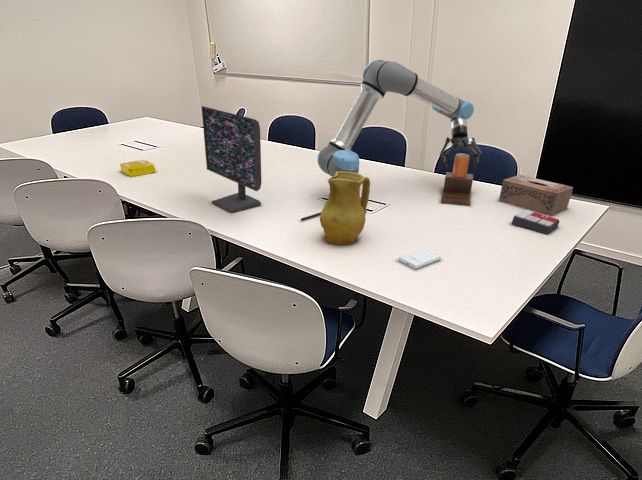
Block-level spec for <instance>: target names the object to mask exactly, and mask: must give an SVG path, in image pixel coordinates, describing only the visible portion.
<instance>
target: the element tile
mask: <svg viewBox="0 0 642 480" xmlns="http://www.w3.org/2000/svg"><path fill="white" fill-rule="evenodd" d="M119 167H120V170H121V173H123V174H125V175H127V176H129V177H137V176H142V175H148V174H153V173H156V167H155V163H152V162H150V161H148V160H146V159H139V160H134V161H129V162H122V163H120V164H119Z"/></svg>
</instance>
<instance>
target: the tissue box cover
mask: <svg viewBox="0 0 642 480" xmlns="http://www.w3.org/2000/svg"><path fill="white" fill-rule="evenodd" d="M573 191H574V187H573V186H570V185H565V184H563V183H558V182H552V181H548V180H545V179H540V178H536V177H533V176H528V175H522V174H517V175H514V176H512V177H508V178H505V179H503V180H502V184H501V189H500V193H499V198H498V202H501V203H506V204H509V205H512V206H516V207H519V208H523V209H525V210H529V211H532V212H537V213H540V214H543V215H546V216H550V217H553V216H554V215H556V214H559V213H561V212H562V211H565V210H567V209H568V207H569V203H570V201H571V197H572V194H573Z"/></svg>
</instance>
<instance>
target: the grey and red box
mask: <svg viewBox="0 0 642 480" xmlns="http://www.w3.org/2000/svg"><path fill="white" fill-rule="evenodd" d="M560 221H561V220H560V219H559V218H556V217H553V216H550V215H547V214H543V213H540V212H536V211H533V210H529V209H523V210H522V211H521V212H519V213H517V214H515V215H513V218H512V221H511V225H513V226H516V227H524V228H527V229H530V230H533V231H536V232H539V233H542V234H545V235H548V234H550V233H552V232H553V231H554V230H556V229H557V228H558V227H559V225H560Z"/></svg>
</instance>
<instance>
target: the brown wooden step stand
mask: <svg viewBox="0 0 642 480" xmlns="http://www.w3.org/2000/svg"><path fill="white" fill-rule="evenodd" d="M452 173H453V171H452V172H451V171H446V172H445V177H444V181H443V182H444V183H443V188H442V189H443V191H442V196H441V202H440V203H441V204H447V205H455V206H456V205H457V206H467V207H470V206H471V193H472V187H473V182H474V174H473V173H467V176H466V177H455V176H453V175H452Z"/></svg>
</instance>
